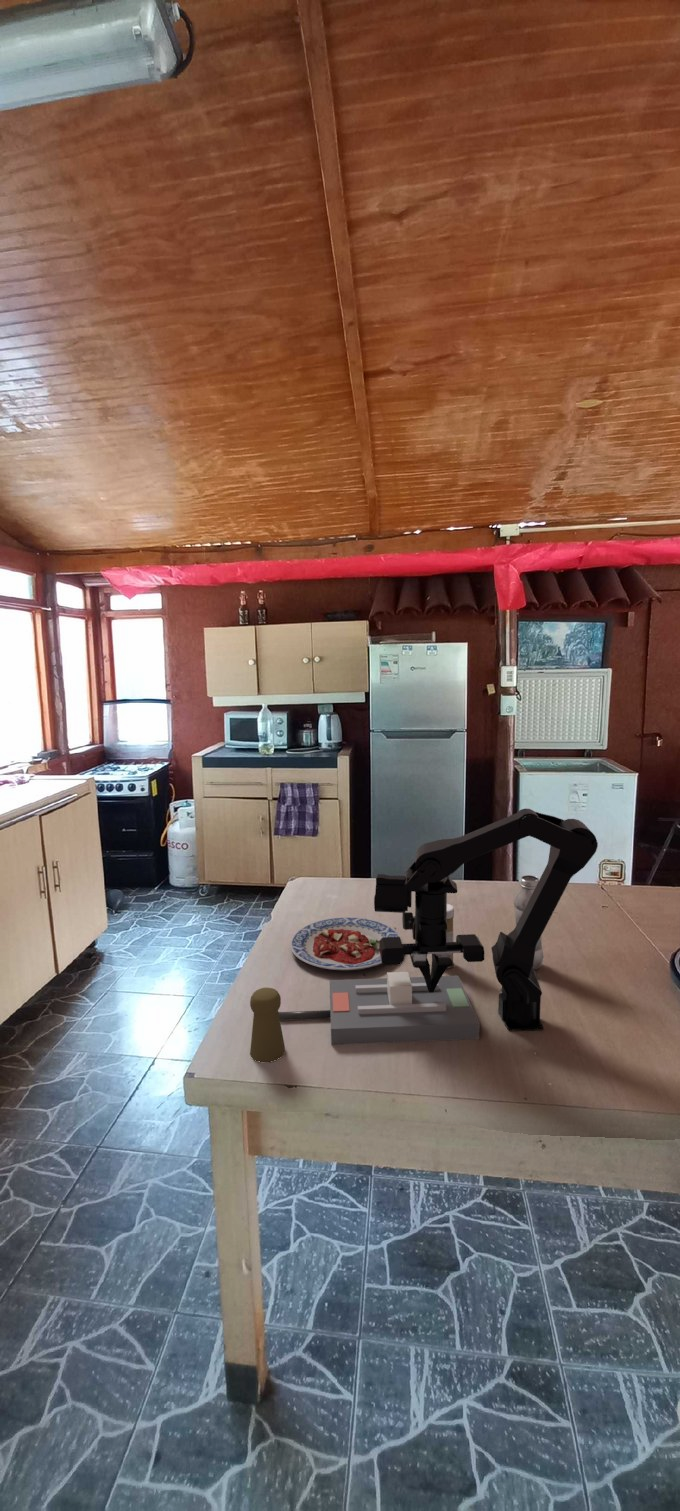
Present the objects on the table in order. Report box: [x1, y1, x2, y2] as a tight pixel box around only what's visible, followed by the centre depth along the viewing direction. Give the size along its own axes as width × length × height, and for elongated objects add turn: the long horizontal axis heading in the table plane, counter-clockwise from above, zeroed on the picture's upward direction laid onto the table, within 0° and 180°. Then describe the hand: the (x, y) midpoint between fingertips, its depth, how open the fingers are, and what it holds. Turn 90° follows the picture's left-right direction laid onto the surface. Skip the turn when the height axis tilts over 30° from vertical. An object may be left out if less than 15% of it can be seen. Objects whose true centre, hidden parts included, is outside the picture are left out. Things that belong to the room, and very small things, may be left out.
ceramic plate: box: [289, 916, 400, 971], centre depth 137 cm, size 26×26×3 cm
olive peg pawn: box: [249, 987, 286, 1063], centre depth 100 cm, size 6×6×11 cm
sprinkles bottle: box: [446, 903, 455, 970], centre depth 128 cm, size 5×5×14 cm
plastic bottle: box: [513, 874, 544, 970], centre depth 126 cm, size 6×7×20 cm
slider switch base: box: [278, 975, 480, 1046], centre depth 110 cm, size 36×16×4 cm, turn 92°
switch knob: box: [386, 971, 412, 1005], centre depth 110 cm, size 4×5×4 cm
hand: (430, 991), depth 110 cm, fingers closed
